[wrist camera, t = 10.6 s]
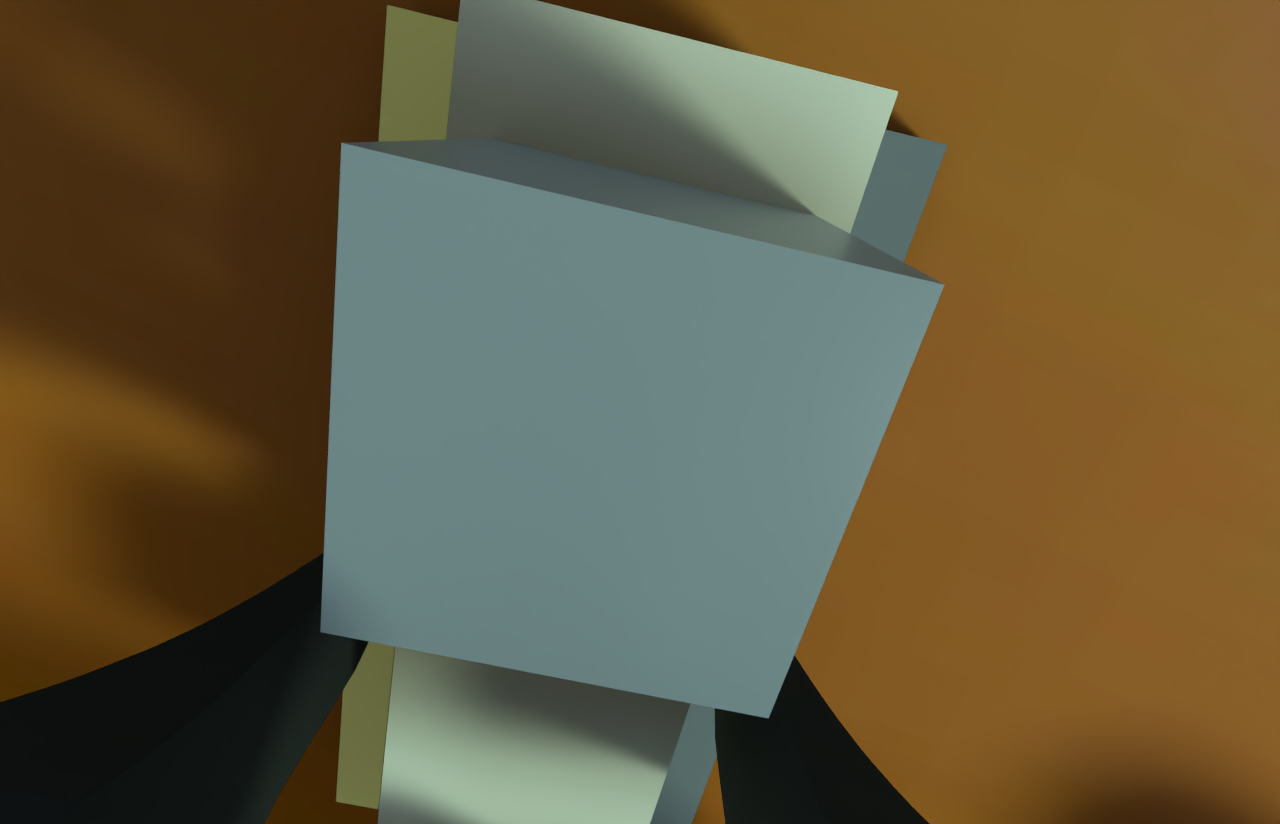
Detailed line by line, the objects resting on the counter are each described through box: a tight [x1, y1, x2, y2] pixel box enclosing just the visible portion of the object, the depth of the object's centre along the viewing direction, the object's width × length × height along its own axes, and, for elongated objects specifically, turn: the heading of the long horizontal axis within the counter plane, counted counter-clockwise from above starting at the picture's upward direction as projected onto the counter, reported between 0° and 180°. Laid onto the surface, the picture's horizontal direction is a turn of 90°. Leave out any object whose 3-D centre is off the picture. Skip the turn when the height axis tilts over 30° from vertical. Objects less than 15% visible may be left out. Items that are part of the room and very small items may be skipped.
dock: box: [336, 5, 947, 824], centre depth 16 cm, size 20×10×1 cm, turn 167°
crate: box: [320, 138, 944, 718], centre depth 7 cm, size 4×4×4 cm
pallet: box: [378, 0, 898, 824], centre depth 13 cm, size 20×5×4 cm, turn 167°
